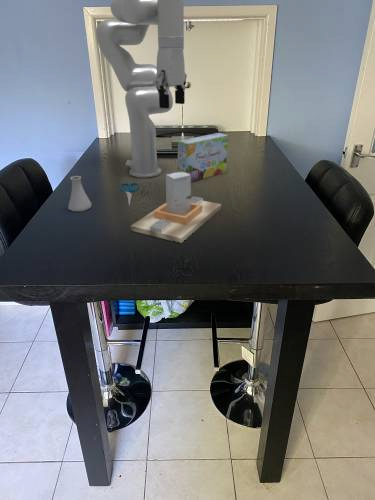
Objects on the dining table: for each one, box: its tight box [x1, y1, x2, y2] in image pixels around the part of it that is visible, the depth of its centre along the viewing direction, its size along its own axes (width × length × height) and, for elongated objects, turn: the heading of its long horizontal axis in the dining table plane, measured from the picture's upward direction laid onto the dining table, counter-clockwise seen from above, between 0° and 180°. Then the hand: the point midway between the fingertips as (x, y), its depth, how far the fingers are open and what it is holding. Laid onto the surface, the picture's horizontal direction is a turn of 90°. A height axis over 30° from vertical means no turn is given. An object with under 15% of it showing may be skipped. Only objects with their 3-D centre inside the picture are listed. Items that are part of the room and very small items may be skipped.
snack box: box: [177, 132, 229, 183], centre depth 143 cm, size 21×6×15 cm, turn 131°
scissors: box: [119, 182, 140, 206], centre depth 130 cm, size 7×1×20 cm
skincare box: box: [165, 171, 192, 216], centre depth 109 cm, size 6×4×12 cm
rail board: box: [130, 196, 222, 244], centre depth 112 cm, size 16×26×4 cm, turn 152°
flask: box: [67, 175, 93, 212], centre depth 118 cm, size 7×7×10 cm
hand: (172, 105), depth 119 cm, fingers open, 9 cm apart
